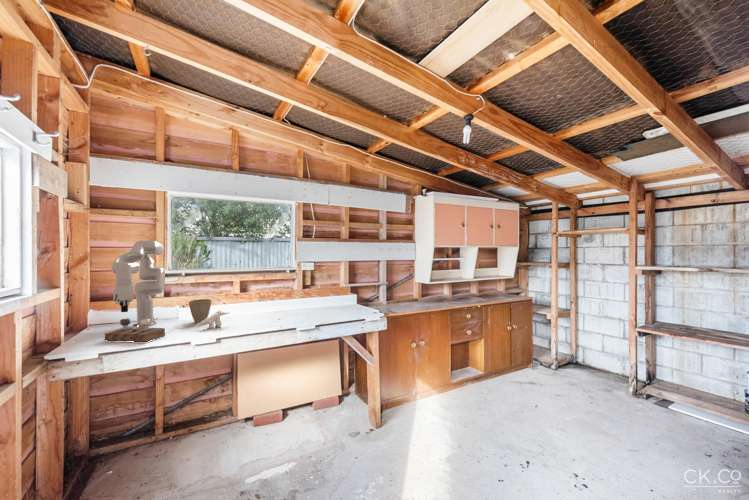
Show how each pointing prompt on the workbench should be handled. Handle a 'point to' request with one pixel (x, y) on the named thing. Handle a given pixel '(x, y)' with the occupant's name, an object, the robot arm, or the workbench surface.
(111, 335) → the mount
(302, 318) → the workbench surface
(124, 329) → the black knob
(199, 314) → the plant pot
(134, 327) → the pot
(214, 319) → the white dinosaur figurine
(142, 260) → the robot arm
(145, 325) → the ivory knob
